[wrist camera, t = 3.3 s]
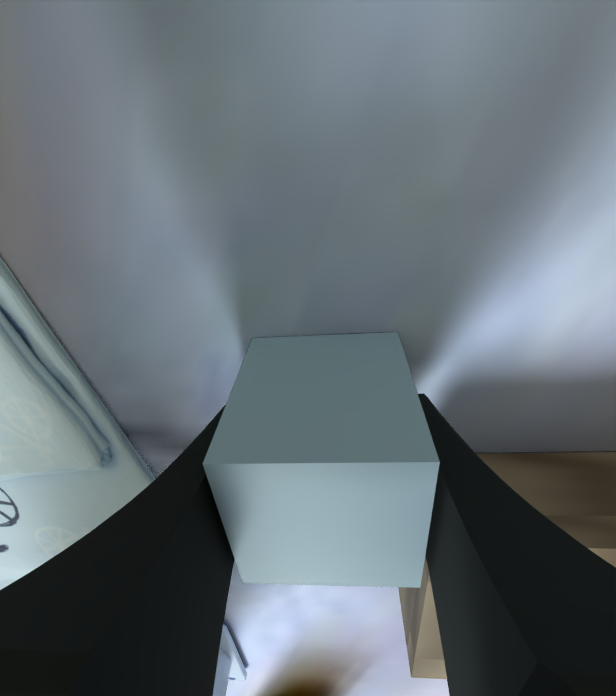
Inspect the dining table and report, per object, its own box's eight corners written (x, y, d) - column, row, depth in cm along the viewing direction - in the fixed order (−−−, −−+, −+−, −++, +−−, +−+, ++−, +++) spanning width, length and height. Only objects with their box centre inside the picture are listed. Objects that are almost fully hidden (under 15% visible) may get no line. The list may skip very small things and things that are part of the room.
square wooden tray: (398, 589, 19) (411, 677, 16) (411, 454, 13) (433, 546, 10) (605, 594, 18) (661, 689, 15) (703, 451, 12) (820, 551, 9)
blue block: (271, 441, 14) (242, 583, 9) (252, 338, 11) (202, 464, 7) (391, 439, 13) (420, 587, 9) (397, 332, 11) (439, 461, 7)
